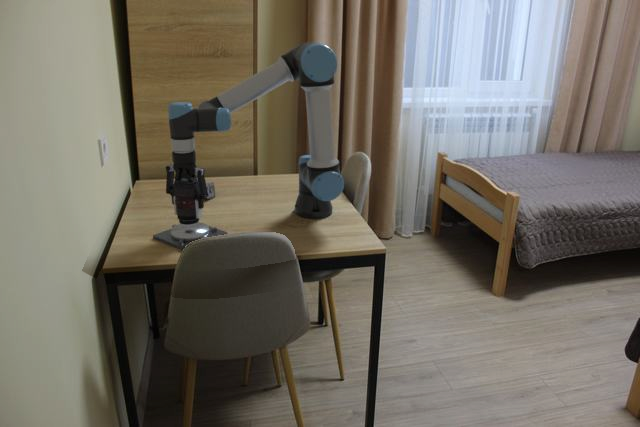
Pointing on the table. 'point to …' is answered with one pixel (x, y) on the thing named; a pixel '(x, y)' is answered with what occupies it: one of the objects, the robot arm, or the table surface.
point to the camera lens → (185, 201)
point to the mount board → (175, 243)
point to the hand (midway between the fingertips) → (188, 215)
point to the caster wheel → (210, 190)
